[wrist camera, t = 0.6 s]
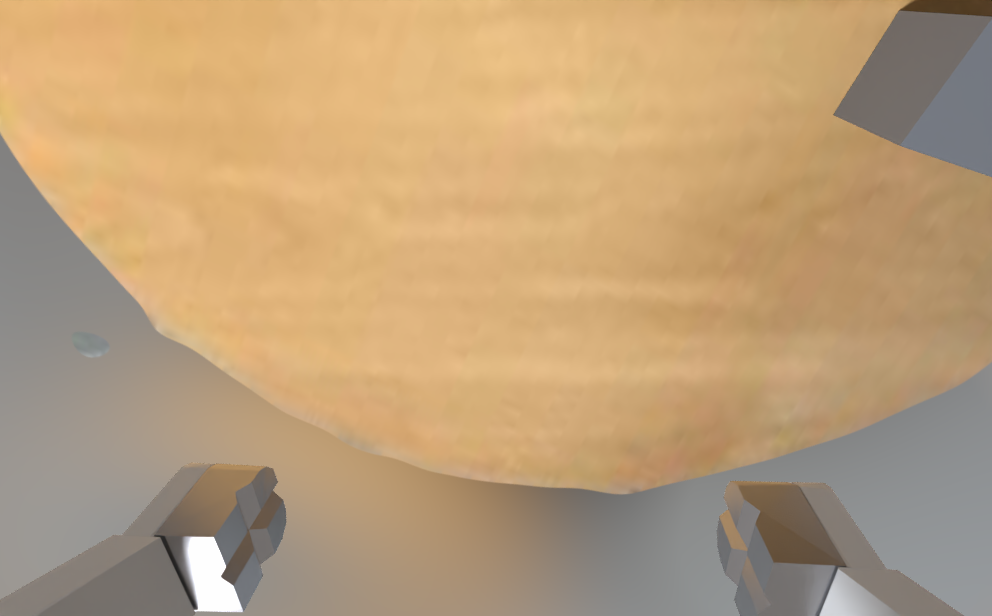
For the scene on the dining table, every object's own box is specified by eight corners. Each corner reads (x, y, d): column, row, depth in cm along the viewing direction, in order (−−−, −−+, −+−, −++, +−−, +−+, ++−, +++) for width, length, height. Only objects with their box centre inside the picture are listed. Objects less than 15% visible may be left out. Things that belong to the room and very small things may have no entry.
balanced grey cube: (899, 10, 34) (993, 16, 27) (992, 43, 35) (1110, 59, 27) (833, 115, 38) (899, 145, 30) (918, 143, 38) (1004, 181, 31)
